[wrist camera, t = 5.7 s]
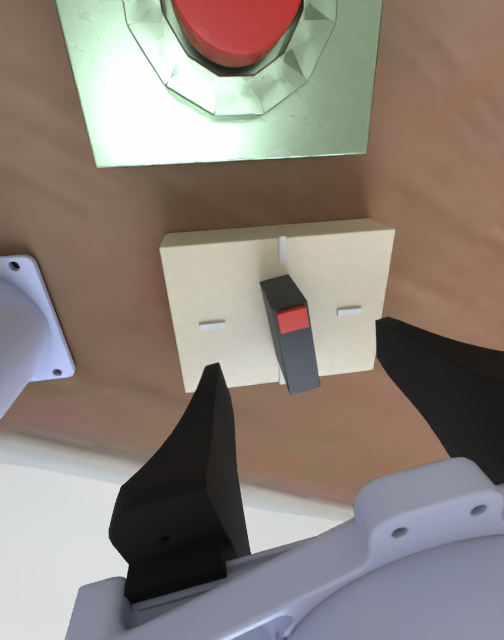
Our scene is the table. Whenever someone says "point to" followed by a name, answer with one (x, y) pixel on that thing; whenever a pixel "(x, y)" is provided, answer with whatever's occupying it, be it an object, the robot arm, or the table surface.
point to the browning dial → (291, 333)
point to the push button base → (220, 85)
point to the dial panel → (247, 300)
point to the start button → (234, 27)
